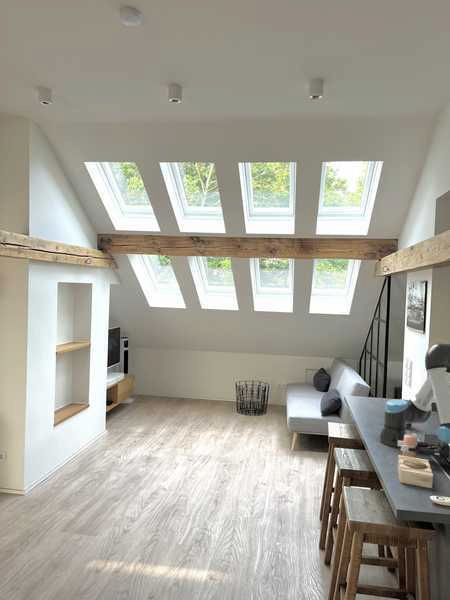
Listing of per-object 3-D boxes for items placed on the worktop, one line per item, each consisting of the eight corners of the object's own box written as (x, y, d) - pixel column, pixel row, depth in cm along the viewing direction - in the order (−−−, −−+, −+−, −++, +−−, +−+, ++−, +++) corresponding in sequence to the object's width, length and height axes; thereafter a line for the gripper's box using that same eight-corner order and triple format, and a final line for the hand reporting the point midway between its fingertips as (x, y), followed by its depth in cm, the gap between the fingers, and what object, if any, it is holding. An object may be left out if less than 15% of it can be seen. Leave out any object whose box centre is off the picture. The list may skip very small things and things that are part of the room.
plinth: (397, 466, 221) (398, 454, 221) (427, 471, 217) (428, 458, 217) (399, 482, 202) (400, 468, 202) (431, 488, 198) (433, 474, 198)
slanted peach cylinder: (407, 456, 236) (409, 433, 236) (418, 461, 231) (420, 437, 230) (399, 458, 233) (401, 434, 232) (410, 463, 227) (412, 438, 227)
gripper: (454, 465, 220) (403, 459, 223) (441, 451, 239) (394, 446, 242) (455, 450, 219) (404, 444, 222) (442, 437, 238) (395, 432, 242)
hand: (399, 445), depth 232 cm, fingers closed on slanted peach cylinder, 6 cm apart
